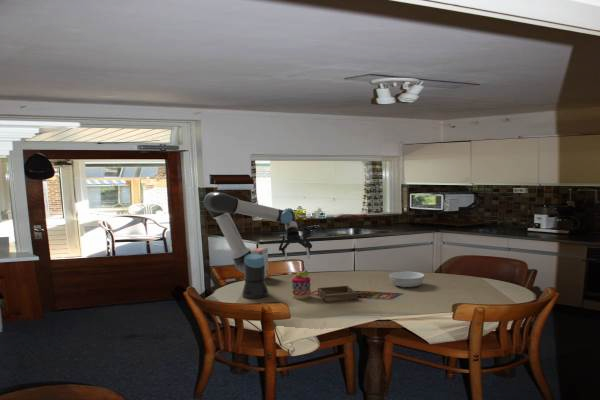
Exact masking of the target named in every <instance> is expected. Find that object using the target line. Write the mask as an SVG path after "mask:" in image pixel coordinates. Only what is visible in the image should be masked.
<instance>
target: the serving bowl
mask: <svg viewBox="0 0 600 400" xmlns="http://www.w3.org/2000/svg"><path fill="white" fill-rule="evenodd" d="M388 276H389V279H390V282H391V283H392V284H393V285H395V286H398V287H401V288H406V287H409V288H414V287H417V286H420V285H421V284H423V282H424V280H425V277H426V276H425V274H424V273H421V272H418V271H408V270H407V271H395V272H391V273H389V275H388Z"/></svg>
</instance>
